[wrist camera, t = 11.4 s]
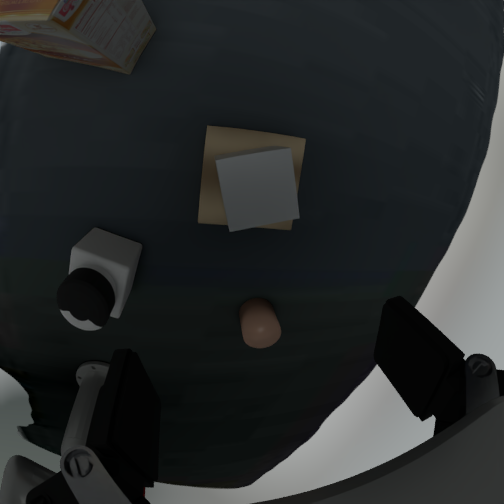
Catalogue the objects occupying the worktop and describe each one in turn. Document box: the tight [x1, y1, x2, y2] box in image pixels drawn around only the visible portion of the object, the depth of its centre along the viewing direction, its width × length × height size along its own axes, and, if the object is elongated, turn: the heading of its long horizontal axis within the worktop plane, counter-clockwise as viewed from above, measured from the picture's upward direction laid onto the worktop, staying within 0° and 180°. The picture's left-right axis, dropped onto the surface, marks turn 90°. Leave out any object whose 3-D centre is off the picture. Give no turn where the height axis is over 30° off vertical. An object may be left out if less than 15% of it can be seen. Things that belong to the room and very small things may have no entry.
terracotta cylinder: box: [239, 298, 281, 348], centre depth 37 cm, size 5×5×5 cm
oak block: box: [198, 126, 306, 230], centre depth 30 cm, size 10×10×5 cm
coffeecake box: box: [0, 0, 156, 75], centre depth 13 cm, size 15×7×20 cm, turn 64°
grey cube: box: [214, 146, 299, 232], centre depth 25 cm, size 6×6×6 cm
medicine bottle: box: [57, 227, 142, 330], centre depth 28 cm, size 7×7×12 cm
